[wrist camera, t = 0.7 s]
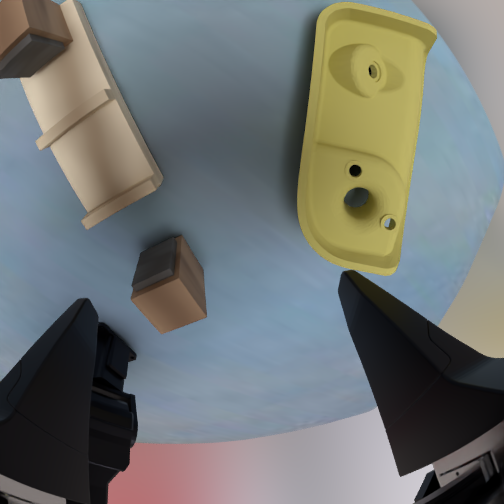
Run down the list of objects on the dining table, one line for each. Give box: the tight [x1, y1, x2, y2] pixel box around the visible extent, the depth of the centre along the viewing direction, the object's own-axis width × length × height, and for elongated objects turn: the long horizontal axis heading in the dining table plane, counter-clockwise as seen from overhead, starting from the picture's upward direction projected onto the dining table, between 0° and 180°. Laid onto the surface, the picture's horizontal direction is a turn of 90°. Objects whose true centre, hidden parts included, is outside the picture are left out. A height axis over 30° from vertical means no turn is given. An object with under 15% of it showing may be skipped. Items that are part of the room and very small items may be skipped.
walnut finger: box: [131, 235, 207, 334], centre depth 21 cm, size 4×5×6 cm
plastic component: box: [297, 2, 437, 276], centre depth 19 cm, size 20×7×10 cm
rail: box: [0, 0, 164, 230], centre depth 12 cm, size 6×17×8 cm, turn 21°
